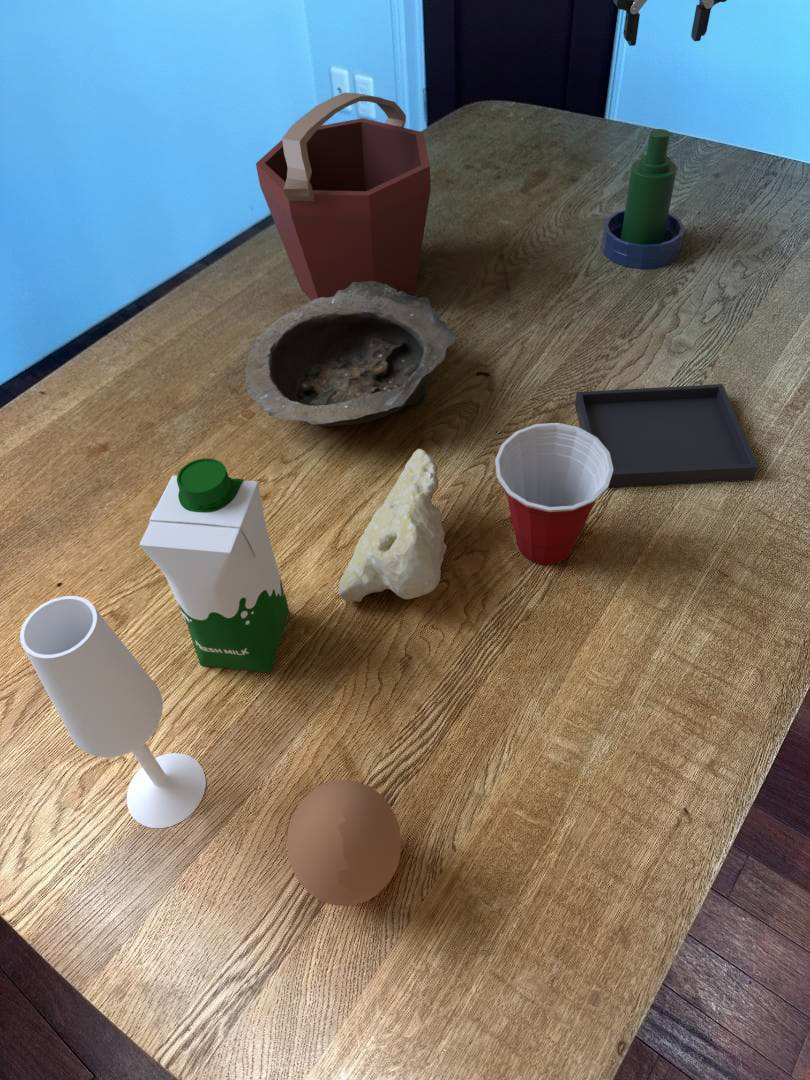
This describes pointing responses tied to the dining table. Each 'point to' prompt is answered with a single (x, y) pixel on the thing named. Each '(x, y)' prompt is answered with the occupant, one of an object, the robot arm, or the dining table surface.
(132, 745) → the champagne flute
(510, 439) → the plastic cup
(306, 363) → the stone bowl
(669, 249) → the bowl
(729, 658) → the dining table surface
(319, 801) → the egg
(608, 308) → the dining table surface
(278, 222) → the bucket
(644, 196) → the bottle
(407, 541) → the cheese
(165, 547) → the milk carton
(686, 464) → the tray
